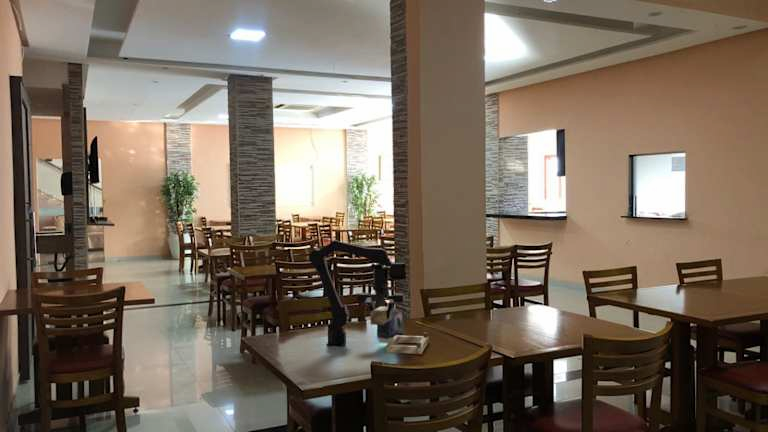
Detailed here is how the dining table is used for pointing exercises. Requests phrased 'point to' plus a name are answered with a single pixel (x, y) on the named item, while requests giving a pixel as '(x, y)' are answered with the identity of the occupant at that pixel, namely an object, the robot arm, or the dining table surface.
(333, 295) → the robot arm
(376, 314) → the frame
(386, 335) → the small box
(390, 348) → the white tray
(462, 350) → the dining table surface
